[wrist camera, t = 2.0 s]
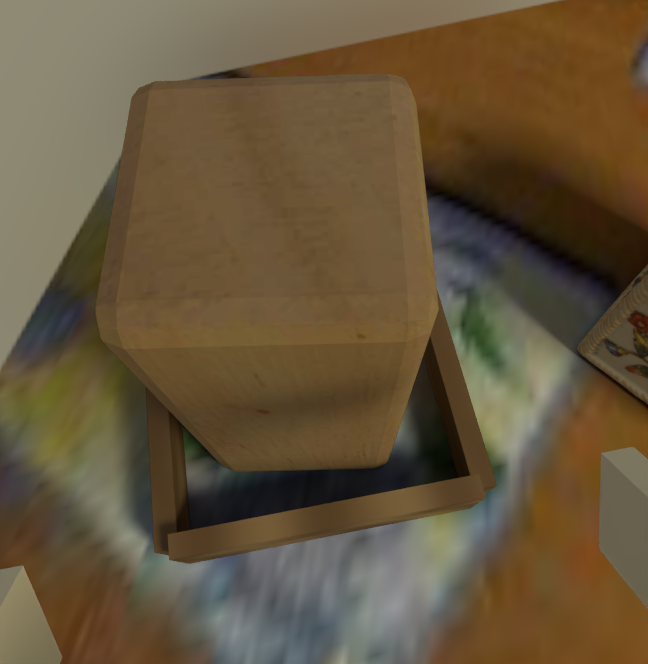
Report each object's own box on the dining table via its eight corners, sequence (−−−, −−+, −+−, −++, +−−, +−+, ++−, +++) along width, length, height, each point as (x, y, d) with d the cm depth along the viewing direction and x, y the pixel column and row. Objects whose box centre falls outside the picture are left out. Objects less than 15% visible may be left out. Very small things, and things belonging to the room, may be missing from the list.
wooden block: (221, 475, 33) (74, 335, 15) (230, 322, 38) (123, 69, 19) (391, 471, 33) (448, 325, 15) (381, 318, 37) (417, 58, 19)
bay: (378, 135, 44) (381, 94, 40) (487, 505, 32) (505, 493, 29) (146, 173, 43) (128, 135, 39) (171, 567, 31) (148, 563, 28)
